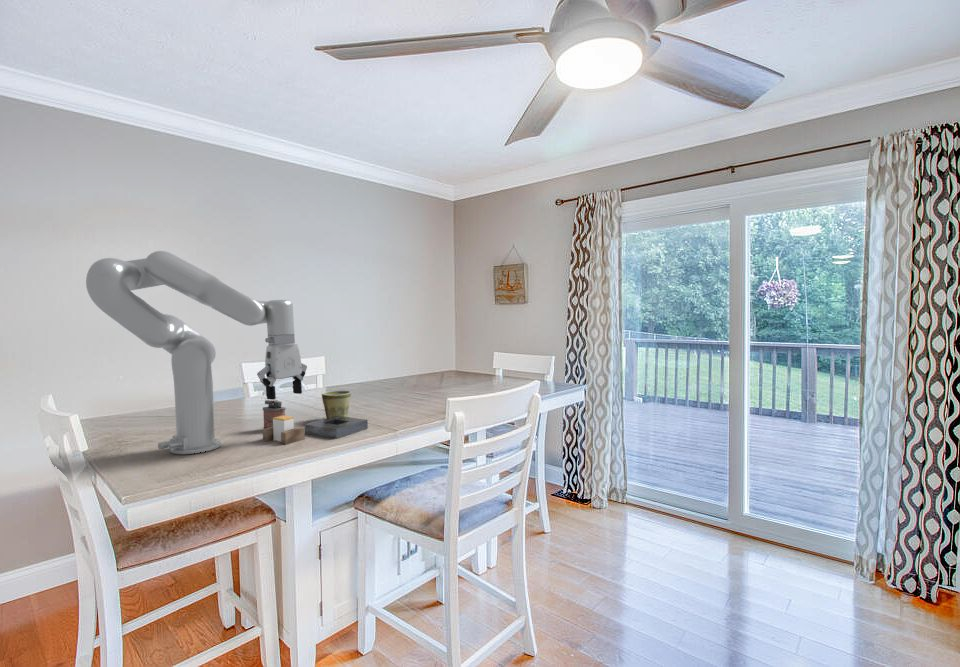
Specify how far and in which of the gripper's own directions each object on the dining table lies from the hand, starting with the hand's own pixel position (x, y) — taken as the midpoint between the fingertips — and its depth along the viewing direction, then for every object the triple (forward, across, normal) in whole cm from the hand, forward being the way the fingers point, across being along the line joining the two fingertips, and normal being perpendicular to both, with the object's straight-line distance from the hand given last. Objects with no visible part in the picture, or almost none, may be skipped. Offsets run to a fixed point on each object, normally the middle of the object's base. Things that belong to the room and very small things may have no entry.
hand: (284, 396), depth 147 cm
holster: (+13, -1, +1) cm, 13 cm away
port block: (+14, +14, -6) cm, 21 cm away
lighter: (+14, +6, +14) cm, 20 cm away
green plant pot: (+14, +27, +6) cm, 31 cm away
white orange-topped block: (+13, -1, +1) cm, 13 cm away
